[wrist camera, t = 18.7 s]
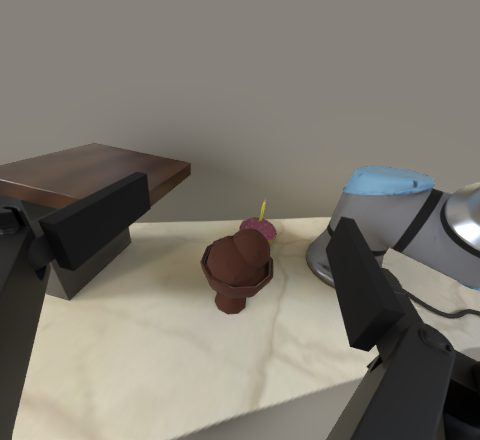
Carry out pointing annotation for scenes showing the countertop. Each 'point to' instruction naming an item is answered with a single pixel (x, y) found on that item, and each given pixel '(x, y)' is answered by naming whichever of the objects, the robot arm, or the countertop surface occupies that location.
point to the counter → (82, 195)
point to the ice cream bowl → (237, 268)
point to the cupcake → (261, 226)
